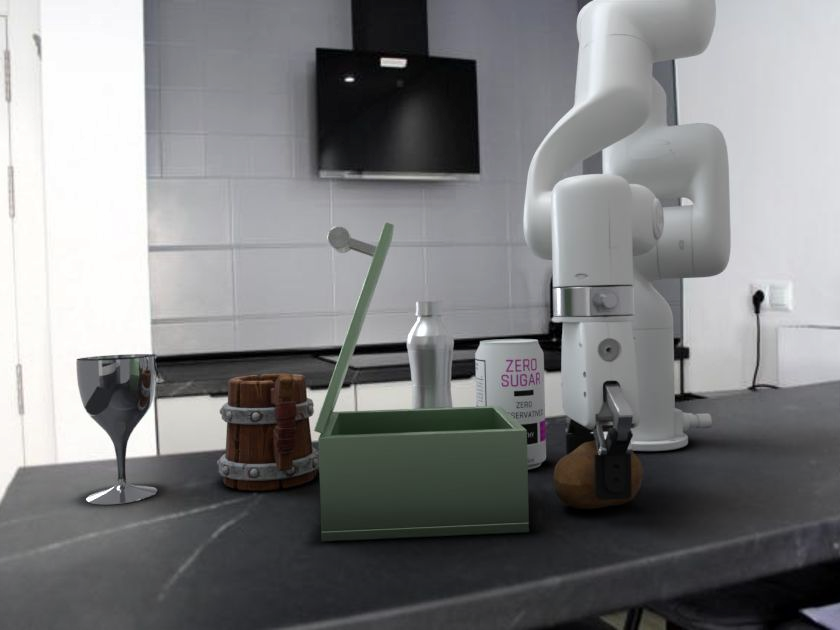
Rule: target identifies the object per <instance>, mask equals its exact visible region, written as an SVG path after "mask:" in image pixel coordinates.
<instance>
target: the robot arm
mask: <svg viewBox="0 0 840 630" xmlns="http://www.w3.org/2000/svg"><path fill="white" fill-rule="evenodd" d="M716 19H717V4H716V0H591V1H589V2H587V4H585V5H584V6H583V7H582V8H581V9H580V11H579V12H578V15H577V18H576V35H577V40H578V54H577V67H576V75H575V80H576V81H575V88H574V91H575V92H574V102H573V103H574V104H573V106H572V108H571V109H569V110H568V111H567V112H566V113H565V114H564V115H563V116H562V117H561V118H560V119H559V120H558V121H557V122H556V124H555V125H554V126H553V127H552V128H551V129H550V131H549V132H548V133H547V134H546V136H545V137H544V138H543V139H542V142H541V143H540V144H539V146H538V147H537V149H536V150H535V153H534V154H533V156H532V159H531V161H530V164H529V167H528V171H527V177H526V178H527V179H526V187H525V195H524V205H523V217H522V218H523V223H522V224H523V225H522V226H523V227H522V228H523V235H524V240H525V243H526V246H527V249H529V251H530V252H531V253H532V254H533V255H534V256H535V257H537V258H539V259H541V260H545V261H552V311H553V312H552V313H553V314H552V315H553V317H552V319H553V320H552V321H553V323H562V329H561V331H562V334H561V340H560V341H561V359H560V360H561V362H560V363H561V364H560V366H561V368H560V371H561V373H560V375H561V378H560V380H561V382H560V383H561V385H560V386H561V403H562V410H563V413H564V415H565V416H566V418H565V424H564V428H565V429H564V430H565V432H566V433H564V434H565V435H564V437H565V456H566V455H568V454H570V453H571V452H573V451H574V450H575V449H576V448H578V447H579V446H580V445H582V444H583V443H586V442H590V441H594V440H595V442H596V446H597V450H598V454H594V490H595V497H596V498H598V499H599V500H609V499H629V498H630V497H631V496H632V483H631V453H632V451H633V452H665V451H672V450H679V449H682V448H684V447H686V446H687V445H688V444H689V436H688V435H687V433H685V432H687V431H689V430H690V429H692V428H693V429H694V428H695V429H711V427H712V425H713V418H712V416H711V414H710V413H695V414H693V413H692V412H685V411H684V412H683V410H681V409H679V408H676V399H675V398H676V397H675V396H676V395H675V394H676V393H675V389H676V388H675V345H674V343H675V341H674V339H675V337H674V314H673V311H672V309H671V306H670V304H669V303H668V301H667V300H666V299H665V297H664V296H662V295H661V294H660V292H659V291H657V289H656V288H655V287H654V286H653V284H652V282H653V281H660V280H668V279H671V280H672V279H698V278H710V277H714V276H718V275H720V274H722V273H723V272H724V271H725V270H726V268H727V267H728V265H729V262H730V256H731V247H732V246H731V245H732V244H731V242H732V241H731V240H732V239H731V237H732V236H731V233H732V232H731V203H730V202H731V200H730V197H731V196H730V166H729V165H730V164H729V154H728V146H727V142H726V139H725V136H724V134H723V132H722V131H721V129H720V128H719V127H718V126H716V125H714V124H713V123H712V124H711V123H708V122H694V123H693V122H692V123H685V124H677V125H668V121H667V118H668V117H667V116H668V114H667V112H668V111H667V106H668V103H667V102H668V101H667V93H666V91H665V89H664V88H663V86H662V85H661V84H660V82H658V80H657V79H656V78H655V77H654V75H653V66H654V63H659V62H660V63H661V62H667V61H672V60H678V59H686V58H692V57H697V56H699V55H702V54H703V53H704V52H705V51H706V50H707V48H708V47H709V45H710V43H711V39H712V36H713V33H714V30H715V26H716ZM599 152H601V154H602V155H601V156H602V165H601V166H602V173H590V174H580V175H574V176H570V177H566V176H567V175H568V173H570V172H571V170H573V169H574V168H575V167H576V166H578V165H579V164H580V163H582V162H583V161H585V160H586V159H588V158H590V157H592V156H593V155H596V154H597V153H599ZM565 177H566V178H565ZM681 198H684V199H688V200H690V201H691V202H692V204H689V205H688V204H687V205H674V206H663V205H662V203H661V201H660V200H668V199H669V200H671V199H681Z"/></svg>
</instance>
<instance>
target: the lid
mask: <svg viewBox="0 0 840 630" xmlns="http://www.w3.org/2000/svg"><path fill="white" fill-rule="evenodd" d="M394 227H395V224H393V223H391V222H387V221H385V222H384V224H383V226H382V230H381V233H380V235H379V239H378V242H377V245H373V244H370V243H369V242H364V241H363V240H362V241H361V240H359V239H357V238H353V237H352V236H351V234H350V232H349V230H348V229H347V228H345V227H343V226H339V225H338V226H333V227H332V228H331V229H330V230H329V231H328V233H327V242H328V243H329V245H330V246H331V247H332V248H333V250H335V251H336V252H337V253H339V254H345V253H348V252H350V251H351V250H352V251H354V252H357V253H360V254H362V255H367V256H369V257H371V258H372V260H371V262H370V265H369V267H368V271H367V274H366V277H365V280H364V282H363V285H362V289H361V291H360V294H359V297H358V300H357V302H356V305H355V309H354V311H353V312H354V313H353V315H352V316H351V317H352V318H351V320H350V323H349V326H348V329H347V333H346V335H345V337H344V341H343V344H342V347H341V350H340V353H339V355H338V359H337V362H336V364H335V368H334V371H333V373H332V376H331V379H330V382H329V385H328V387H327V391H326V394H325V397H324V400H323V402H322V405H321V408H320V411H319V414H318V417H317V420H316V423H315V425H314V429H313V431H314V432H316V433H319V434H321V433H323V432H324V430H325V428H326V425H327V423H328V421H329V419H330V417H331V414H332V412H334V410H335V408H336V405H337V402H338V399H339V396H340V393H341V390H342V388H343V384H344V382H345V378H346V375H347V372H348V369H349V366H350V364H351V361H352V357H353V355H354V352H355V349H356V346H357V343H358V340H359V339H360V338H359V337H360V334H361V331H362V328H363V325H364V323H365V320H366V317H367V314H368V311H369V308H370V305H371V302H372V300H373V297H374V293H375V291H376V287H377V284H378V282H379V279H380V276H381V273H382V271H383V267H384V264H385V261H386V259H387V256H388V253H389V250H390V247H391V244H392V241H393V235H394V229H395V228H394Z"/></svg>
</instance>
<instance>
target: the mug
mask: <svg viewBox="0 0 840 630" xmlns="http://www.w3.org/2000/svg"><path fill="white" fill-rule="evenodd" d="M307 393H308V392H307V381H306V376H305V375H303V374H299V373H262V374H261V375H260V376H259V375H258V374H249V375H242V376H236V377H233V378H229V380H228V381H227V402H225V403H224V404H223V405H221V407H220V409H219V414H220V415H221V420H222V421H224V422H225V423H226V435H225V436H226V437H225V440H226V442H225V453H224V454H223V455H222V456H221V457H220V458H219V459H218V460H217V462H216V465H217V467H218V473H219V474H220V476H221V477H223V478H222V482H223V483H224V485H225V486H226V487H227V488H230V489H233V490H235V489H237V490H238V491H248V492H252V491H253V492H266V491H277V490H280V487H282V488H283V489H285V490H286V489H290V488H295V487H298V486H301V485H305V484H308V483H310V482H311V481H312V480H314V479H315V478H316V476H317V469H319V449H318V450H317V449H316V448H315V447H313V441H312V433H311V426H310V425H311V424H310V418H311V417H312V416H313V415H314V414H315V409H314V406H315V404H314V402H313V399H312V398H309V397H308V395H307Z"/></svg>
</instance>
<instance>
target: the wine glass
mask: <svg viewBox="0 0 840 630" xmlns="http://www.w3.org/2000/svg"><path fill="white" fill-rule="evenodd" d="M75 364H76V381H77V387H78V392H79V396H80V400H81V403H82V406H83V408H84V411H85V412H86V414H87V415H88V416H89V417H90V418H91V419H92V420H93V421H94V422H95V423H96V424H97V425H98V426H99V427H100V428H101V429H102V430H104V432H105V433H106V434H107V435H108V437H109V438H110V440H111V441H112V444H113V448H114V452H115V459H116V465H117V482H116V484H115V485H114V486H112V487H110V488H105V489H102V490H99V491H96V492H93V493H91V494H90V495H88V496H87V497H86V499H85V501H86V502H87V503H89V504H92V505H103V506H105V505H106V506H107V505H109V506H110V505H121V504H127V503H133V502H138V501H142V500H145V499H148V498H150V497H153V496H155V495H156V494H157V493H158V489H157V488H156V487H154V486H151V485H139V484H137V485H136V484H131V483H129V482H128V481H127V476H126V475H127V474H126V458H127V448H128V443H129V440H130V437H131V435H132V433H133V431H134V430H135V428H137V426H138V425H139V424H140V423H141V421H142V419H143V418H144V417H145V416H146V415H147V413H148V412H149V410H150V409H151V407H152V405H153V402H154V398H155V394H156V393H155V392H156V389H157V388H156V387H157V378H158V377H157V375H158V373H157V372H158V369H157V368H158V365H157V354H153V353H151V354H150V353H133V354H132V353H131V354H130V353H129V354H128V353H127V354H126V353H125V354H110V355H109V354H108V355H96V356H88V357H87V356H86V357H80V358H76V363H75Z"/></svg>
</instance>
